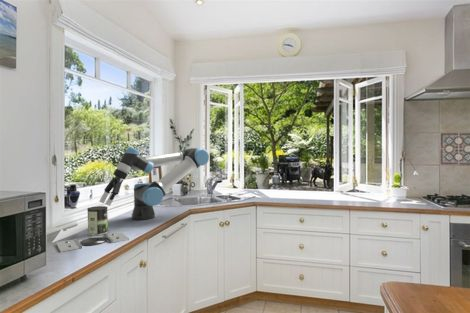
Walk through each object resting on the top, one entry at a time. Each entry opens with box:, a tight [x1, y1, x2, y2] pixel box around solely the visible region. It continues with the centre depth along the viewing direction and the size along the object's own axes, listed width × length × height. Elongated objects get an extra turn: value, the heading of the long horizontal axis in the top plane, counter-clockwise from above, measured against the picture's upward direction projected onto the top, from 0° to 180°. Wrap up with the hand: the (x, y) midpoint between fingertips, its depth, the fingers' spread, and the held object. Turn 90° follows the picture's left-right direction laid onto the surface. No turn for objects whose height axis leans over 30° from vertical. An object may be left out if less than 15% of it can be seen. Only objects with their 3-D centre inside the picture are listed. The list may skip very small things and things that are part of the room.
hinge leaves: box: [55, 231, 130, 253], centre depth 158 cm, size 31×14×1 cm, turn 127°
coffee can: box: [87, 205, 109, 236], centre depth 174 cm, size 10×10×14 cm
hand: (104, 203), depth 184 cm, fingers open, 13 cm apart
